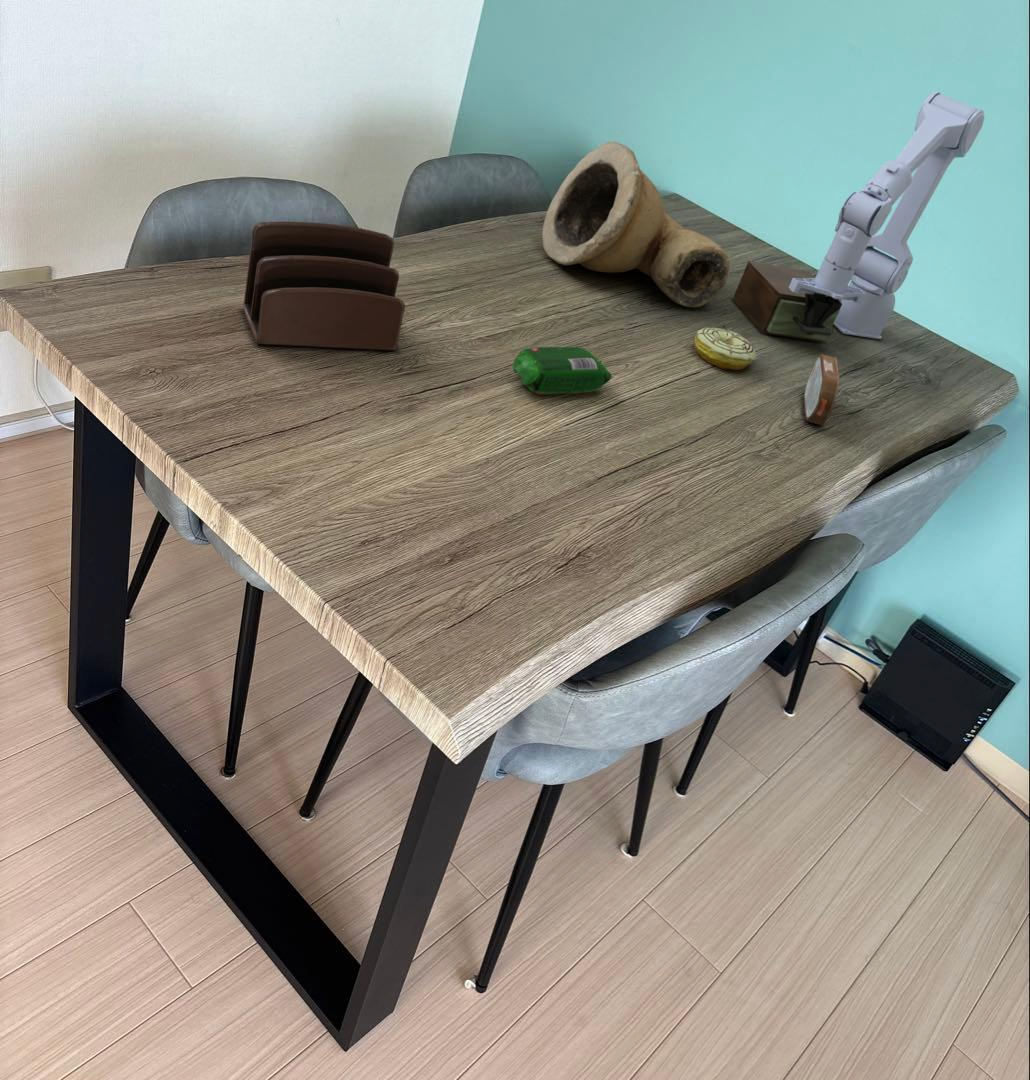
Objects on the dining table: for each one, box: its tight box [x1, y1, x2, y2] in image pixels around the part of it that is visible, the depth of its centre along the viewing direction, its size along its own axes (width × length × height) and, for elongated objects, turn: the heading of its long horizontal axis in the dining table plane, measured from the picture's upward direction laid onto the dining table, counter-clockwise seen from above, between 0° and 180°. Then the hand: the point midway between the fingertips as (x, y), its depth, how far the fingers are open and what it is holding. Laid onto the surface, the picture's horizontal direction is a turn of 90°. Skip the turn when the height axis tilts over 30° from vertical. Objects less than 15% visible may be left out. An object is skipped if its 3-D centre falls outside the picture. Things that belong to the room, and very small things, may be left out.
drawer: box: [767, 298, 840, 342], centre depth 190 cm, size 17×12×6 cm
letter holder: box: [242, 221, 406, 352], centre depth 140 cm, size 10×20×14 cm, turn 113°
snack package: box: [512, 346, 612, 396], centre depth 148 cm, size 7×16×5 cm, turn 118°
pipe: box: [541, 141, 731, 308], centre depth 190 cm, size 23×29×30 cm
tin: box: [803, 354, 840, 427], centre depth 164 cm, size 15×3×8 cm, turn 168°
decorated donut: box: [694, 327, 757, 371], centre depth 173 cm, size 10×11×4 cm
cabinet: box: [731, 260, 824, 343], centre depth 193 cm, size 14×14×8 cm
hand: (807, 332), depth 186 cm, fingers closed, pressing on drawer
